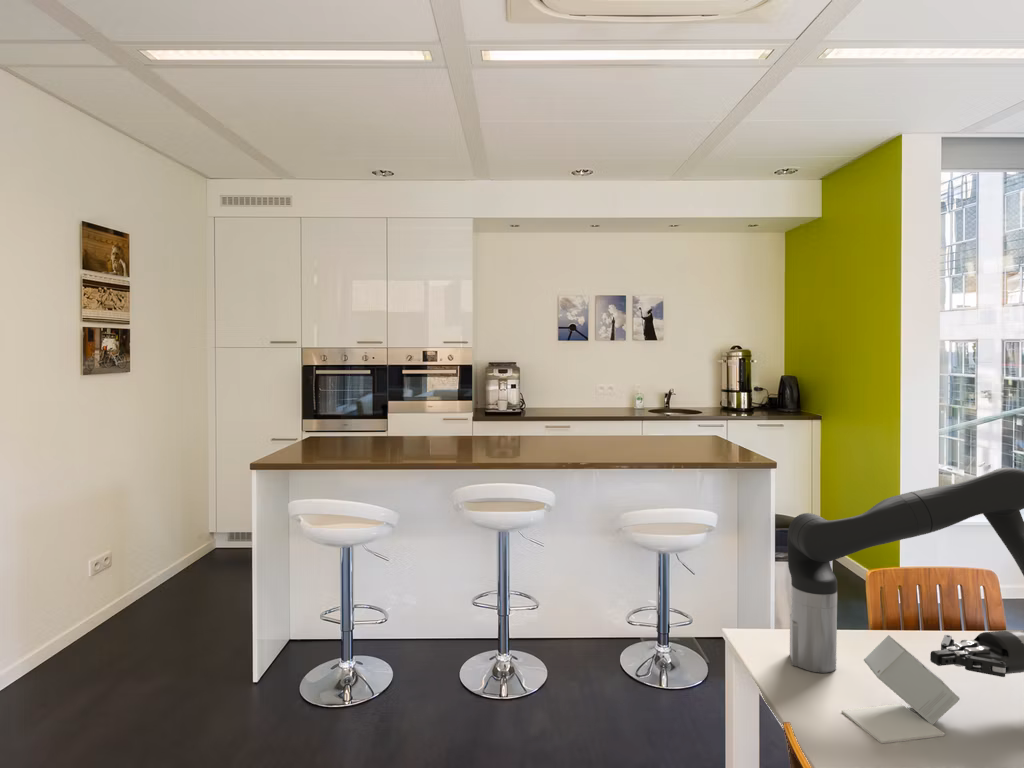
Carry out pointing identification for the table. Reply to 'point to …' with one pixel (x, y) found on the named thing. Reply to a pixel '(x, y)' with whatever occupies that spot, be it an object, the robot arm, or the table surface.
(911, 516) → the robot arm
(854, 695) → the table surface
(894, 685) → the supplement box
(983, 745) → the table surface
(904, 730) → the mat
